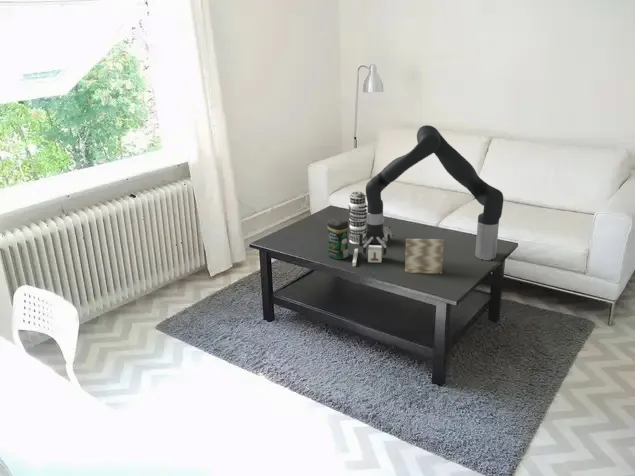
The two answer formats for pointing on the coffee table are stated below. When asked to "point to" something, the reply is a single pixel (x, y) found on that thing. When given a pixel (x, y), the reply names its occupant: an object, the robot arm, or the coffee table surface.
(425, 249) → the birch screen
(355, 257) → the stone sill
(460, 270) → the coffee table surface
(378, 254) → the letter cube
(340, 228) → the coffee jar
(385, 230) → the game die
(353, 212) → the decorative candle
